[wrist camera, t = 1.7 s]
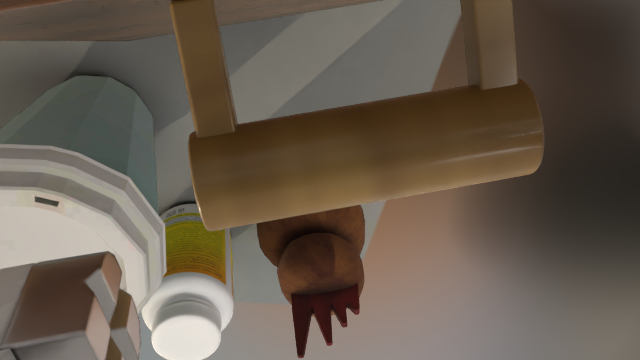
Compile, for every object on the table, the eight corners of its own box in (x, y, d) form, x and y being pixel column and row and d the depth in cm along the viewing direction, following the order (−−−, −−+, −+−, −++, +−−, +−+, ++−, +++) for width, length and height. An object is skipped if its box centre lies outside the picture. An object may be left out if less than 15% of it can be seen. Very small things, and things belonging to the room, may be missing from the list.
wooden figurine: (245, 211, 43) (257, 384, 30) (264, 141, 40) (287, 301, 27) (334, 224, 44) (381, 392, 32) (359, 159, 42) (420, 315, 29)
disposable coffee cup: (160, 205, 41) (136, 383, 29) (-10, 168, 38) (-120, 351, 26) (201, 68, 36) (194, 211, 24) (10, 11, 33) (-113, 143, 21)
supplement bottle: (139, 213, 41) (119, 321, 33) (215, 190, 41) (215, 293, 33) (170, 270, 45) (159, 382, 36) (241, 249, 44) (247, 357, 36)
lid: (-216, -28, 7) (-87, 335, 8) (866, -187, 8) (845, 163, 9) (120, 21, 24) (147, 136, 25) (450, -31, 25) (462, 83, 26)
